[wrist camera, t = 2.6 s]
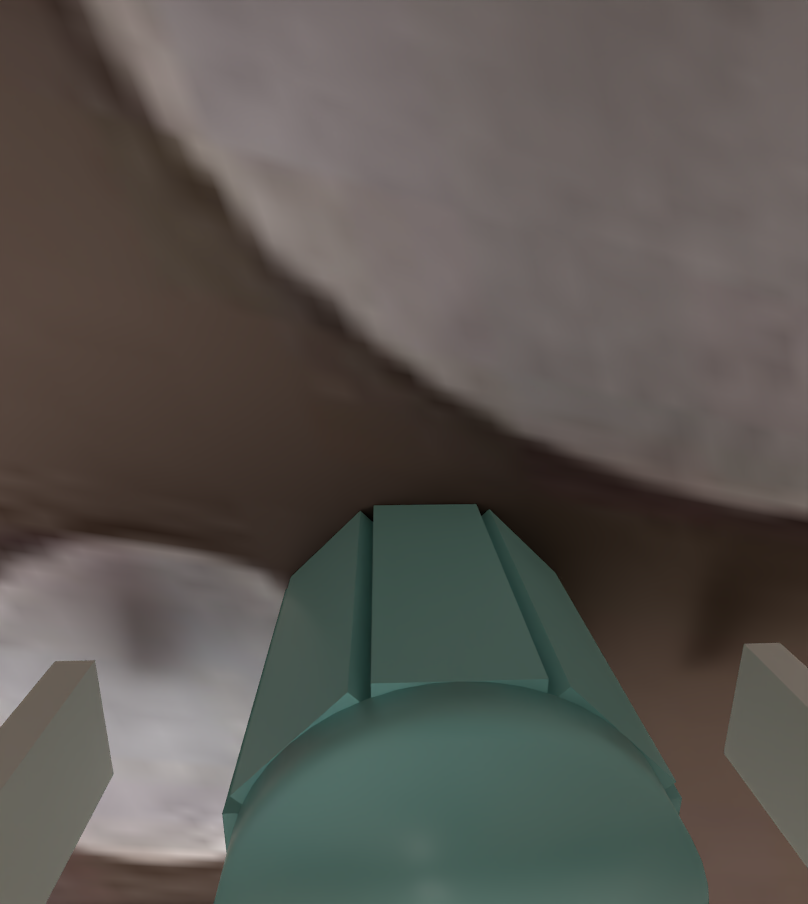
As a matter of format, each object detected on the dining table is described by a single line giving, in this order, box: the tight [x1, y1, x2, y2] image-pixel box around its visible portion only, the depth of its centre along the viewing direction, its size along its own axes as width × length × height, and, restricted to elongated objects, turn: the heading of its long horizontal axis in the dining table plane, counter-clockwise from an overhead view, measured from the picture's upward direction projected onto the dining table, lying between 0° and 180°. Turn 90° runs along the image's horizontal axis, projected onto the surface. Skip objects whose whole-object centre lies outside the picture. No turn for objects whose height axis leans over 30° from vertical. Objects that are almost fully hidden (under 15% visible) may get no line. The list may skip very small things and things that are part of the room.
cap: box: [214, 504, 709, 904], centre depth 11 cm, size 6×6×8 cm
